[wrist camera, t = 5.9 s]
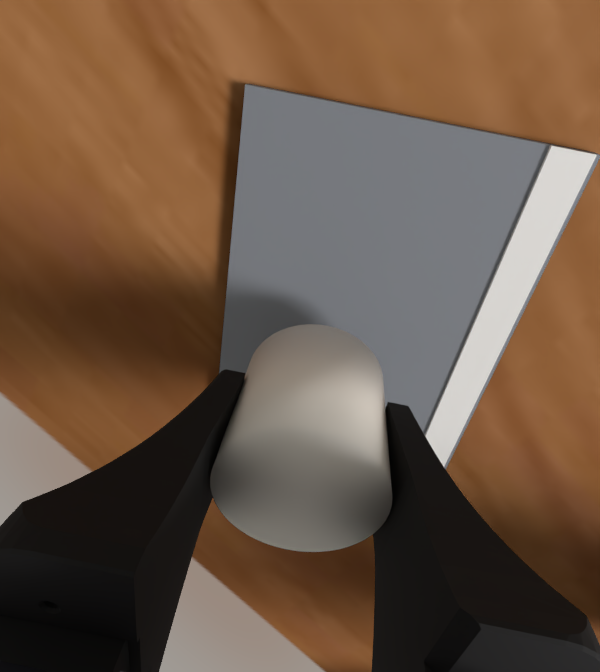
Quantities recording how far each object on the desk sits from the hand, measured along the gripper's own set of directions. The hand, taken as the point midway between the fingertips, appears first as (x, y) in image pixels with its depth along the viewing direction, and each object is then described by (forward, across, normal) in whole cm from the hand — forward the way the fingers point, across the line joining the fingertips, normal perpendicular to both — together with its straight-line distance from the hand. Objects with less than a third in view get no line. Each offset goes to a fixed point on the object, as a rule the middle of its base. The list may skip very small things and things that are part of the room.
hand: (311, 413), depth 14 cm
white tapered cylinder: (+1, 0, 0) cm, 1 cm away
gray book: (+3, -1, 0) cm, 4 cm away
